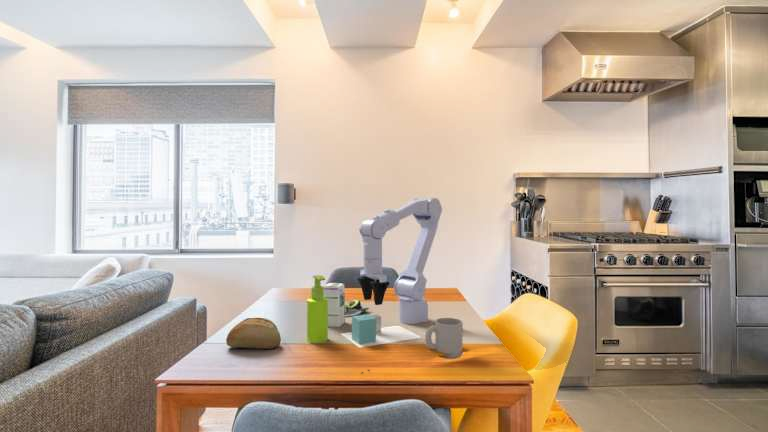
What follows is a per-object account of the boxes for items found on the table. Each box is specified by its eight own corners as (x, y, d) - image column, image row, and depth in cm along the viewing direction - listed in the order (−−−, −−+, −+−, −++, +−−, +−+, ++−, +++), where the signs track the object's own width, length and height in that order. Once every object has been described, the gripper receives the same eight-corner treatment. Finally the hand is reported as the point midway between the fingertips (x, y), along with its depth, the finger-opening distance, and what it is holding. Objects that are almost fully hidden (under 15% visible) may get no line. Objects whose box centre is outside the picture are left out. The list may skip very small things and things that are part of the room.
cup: (465, 358, 106) (465, 324, 106) (427, 359, 106) (427, 325, 106) (458, 349, 113) (458, 317, 113) (423, 350, 113) (423, 318, 113)
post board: (398, 329, 132) (398, 325, 132) (421, 342, 119) (421, 337, 119) (340, 338, 123) (340, 333, 123) (359, 353, 110) (359, 347, 110)
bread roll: (232, 342, 119) (232, 315, 119) (284, 341, 120) (284, 314, 120) (221, 353, 110) (221, 324, 110) (277, 352, 111) (277, 323, 111)
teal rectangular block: (368, 336, 120) (368, 314, 120) (375, 341, 115) (376, 318, 115) (351, 339, 117) (351, 316, 117) (359, 344, 113) (359, 320, 113)
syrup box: (339, 331, 130) (340, 286, 130) (322, 330, 131) (322, 285, 131) (345, 326, 135) (345, 283, 135) (328, 325, 137) (328, 282, 137)
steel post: (377, 330, 126) (377, 314, 126) (381, 332, 123) (381, 316, 123) (369, 331, 125) (369, 315, 125) (373, 334, 122) (373, 317, 122)
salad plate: (351, 324, 140) (351, 310, 140) (306, 319, 146) (306, 306, 146) (372, 311, 158) (372, 299, 158) (331, 307, 164) (331, 295, 164)
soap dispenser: (311, 350, 112) (311, 278, 112) (304, 343, 118) (304, 274, 118) (331, 347, 115) (332, 276, 114) (323, 340, 121) (323, 273, 120)
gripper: (351, 256, 130) (351, 298, 131) (371, 261, 118) (371, 308, 118) (371, 255, 134) (371, 296, 134) (392, 260, 121) (392, 305, 121)
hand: (373, 302), depth 126 cm, fingers open, 7 cm apart
